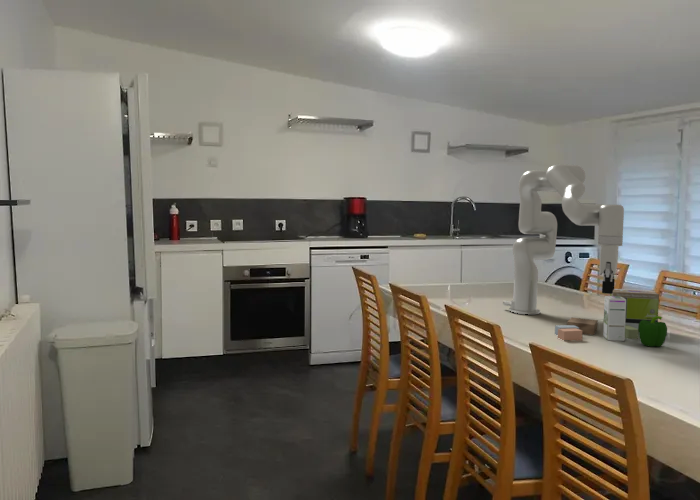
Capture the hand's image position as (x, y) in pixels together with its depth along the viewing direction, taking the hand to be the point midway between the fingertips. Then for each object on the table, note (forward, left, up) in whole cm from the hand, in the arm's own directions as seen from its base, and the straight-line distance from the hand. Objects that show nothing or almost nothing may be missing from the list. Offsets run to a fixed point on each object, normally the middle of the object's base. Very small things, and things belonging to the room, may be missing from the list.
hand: (608, 291), depth 190 cm
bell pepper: (+14, -2, -17) cm, 22 cm away
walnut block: (-8, +9, -17) cm, 21 cm away
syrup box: (+2, +2, -17) cm, 17 cm away
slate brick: (-12, -2, -17) cm, 21 cm away
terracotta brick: (-11, -7, -17) cm, 21 cm away
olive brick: (+7, +8, -17) cm, 20 cm away
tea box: (+8, +20, -17) cm, 27 cm away
